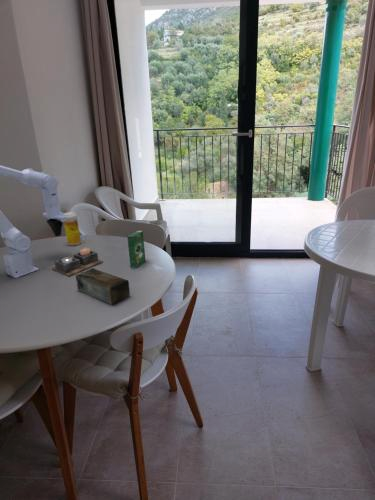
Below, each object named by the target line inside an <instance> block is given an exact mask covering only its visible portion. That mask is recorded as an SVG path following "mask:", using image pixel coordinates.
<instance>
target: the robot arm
mask: <svg viewBox="0 0 375 500" xmlns="http://www.w3.org/2000/svg"><path fill="white" fill-rule="evenodd" d="M0 176H1V177H6V178H7V177H8V178H9V179H10V178H12V179H16V180H19V181H20V182H21V183H22V184H23V185H27V186H32V187H36V188H39V189H40V190H41V194H42V199H43V204H44V209H45V212H42V218H46V219H47V220H46V223H47V225H49V227H50V229H51V230H52V233H53V235H54V237H60V236H62V228H63V224H64V222H65V221H67V219H66V216H64V215H63V214H64V212H63V211H62V210H61V205H60V201H59V199H60V198H59V195H58V187H59V180H57V177H55V175H52V174H46V173H45V172H44V171H41V172H40V171H35V170H34V169H33V168H30V167H28V168H25V169H23V170H18V169H14V168H11V167H7V166H3V165H0ZM0 237H1V238H2V239H3V244H4V245H5V246H6V247H7V248H8V252H7V253H6V254H4V255H3V257H2V259H3V263H4V266H5V269H6V274H7V275H9V276H11V277H13V278H14V279H17V278H20V277H22V276H24V275H29V274H30V273H33V272H35V271H39V268H38V267H36V266H34V262H33V261H34V260H33V258H32V253H31V250H30V248H31V244H32V242H31V238H30V237H28V236H27V235H24V234H23V233H22V232H21V230H19V229H17V227H15V226H14V225H13V224H12V222H11V221H10V220H9V219H8V217H6V216H5V214H4V212H3V211H1V210H0Z"/></svg>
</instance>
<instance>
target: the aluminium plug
mask: <svg viewBox="0 0 375 500" xmlns="http://www.w3.org/2000/svg"><path fill="white" fill-rule="evenodd" d="M72 257H73V256H71V257H68V256H65V257H63V258H61V259H62V263H64V264H67V263H69V262H72V261H73V260H72Z"/></svg>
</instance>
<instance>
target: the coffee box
mask: <svg viewBox="0 0 375 500" xmlns="http://www.w3.org/2000/svg"><path fill="white" fill-rule="evenodd" d="M126 238H127V246H128V256H129V262H130V263H129V266H130V268H131V269H132V268H133V269H135V268H138V267H139V266H141V265H142V264H144V262H146V251H145V250H146V249H145V240H144V239H145V237H144V231H143V230H136V231H134V232H132V233H131V234H129V235H127V236H126Z"/></svg>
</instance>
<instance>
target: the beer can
mask: <svg viewBox="0 0 375 500" xmlns="http://www.w3.org/2000/svg"><path fill="white" fill-rule="evenodd" d="M63 213H64V212H63ZM63 215H64V216H66V219H67V221H65V222H63V224H64V231H65V235H66V236H65V237H66V241H67V244H68V245H69V246H71V247H72V246H73V247H74V246H78V245H80V244H81V243H82V239H81V234H80V229H79V228H80V227H79V222H78V215H77V213H76V212H74V211H70V212H69V211H68V212H65V213H64V214H63Z"/></svg>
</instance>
